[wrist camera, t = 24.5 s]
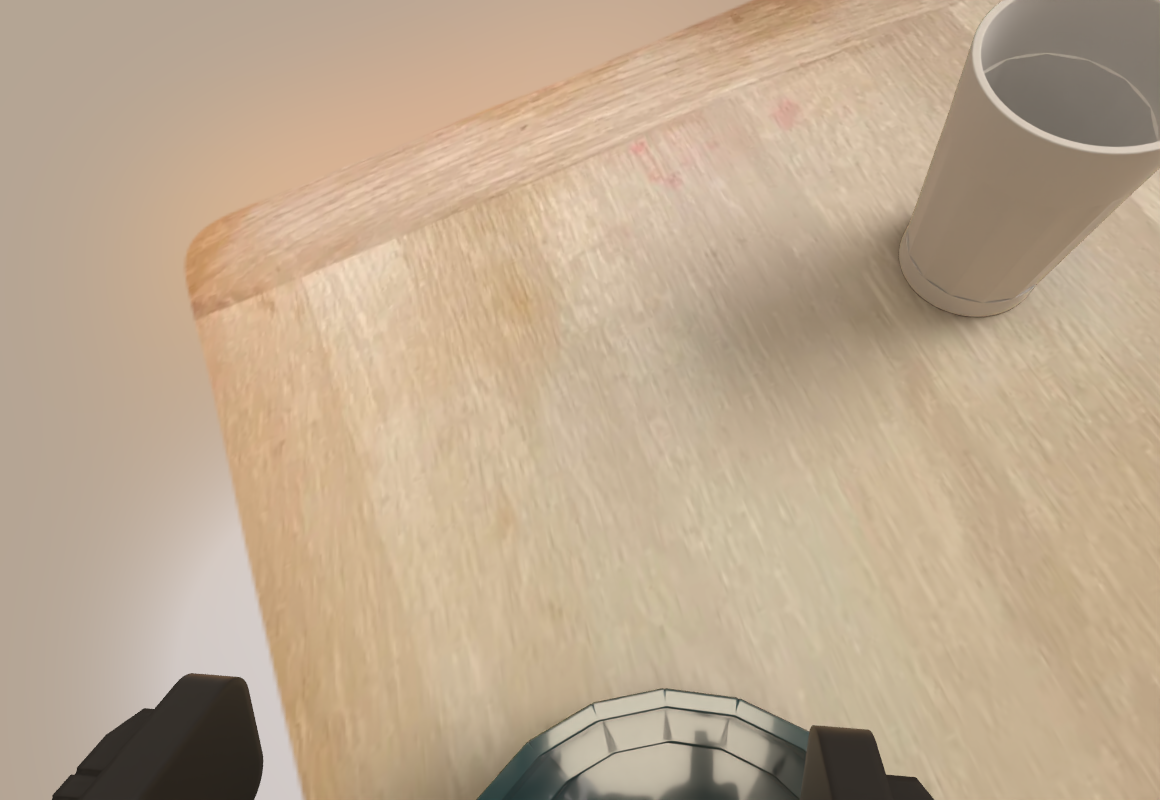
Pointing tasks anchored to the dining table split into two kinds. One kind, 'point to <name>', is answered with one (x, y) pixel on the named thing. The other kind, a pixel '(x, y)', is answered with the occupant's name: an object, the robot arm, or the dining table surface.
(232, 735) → the robot arm
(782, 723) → the bowl
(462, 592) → the dining table surface
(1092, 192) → the cup
